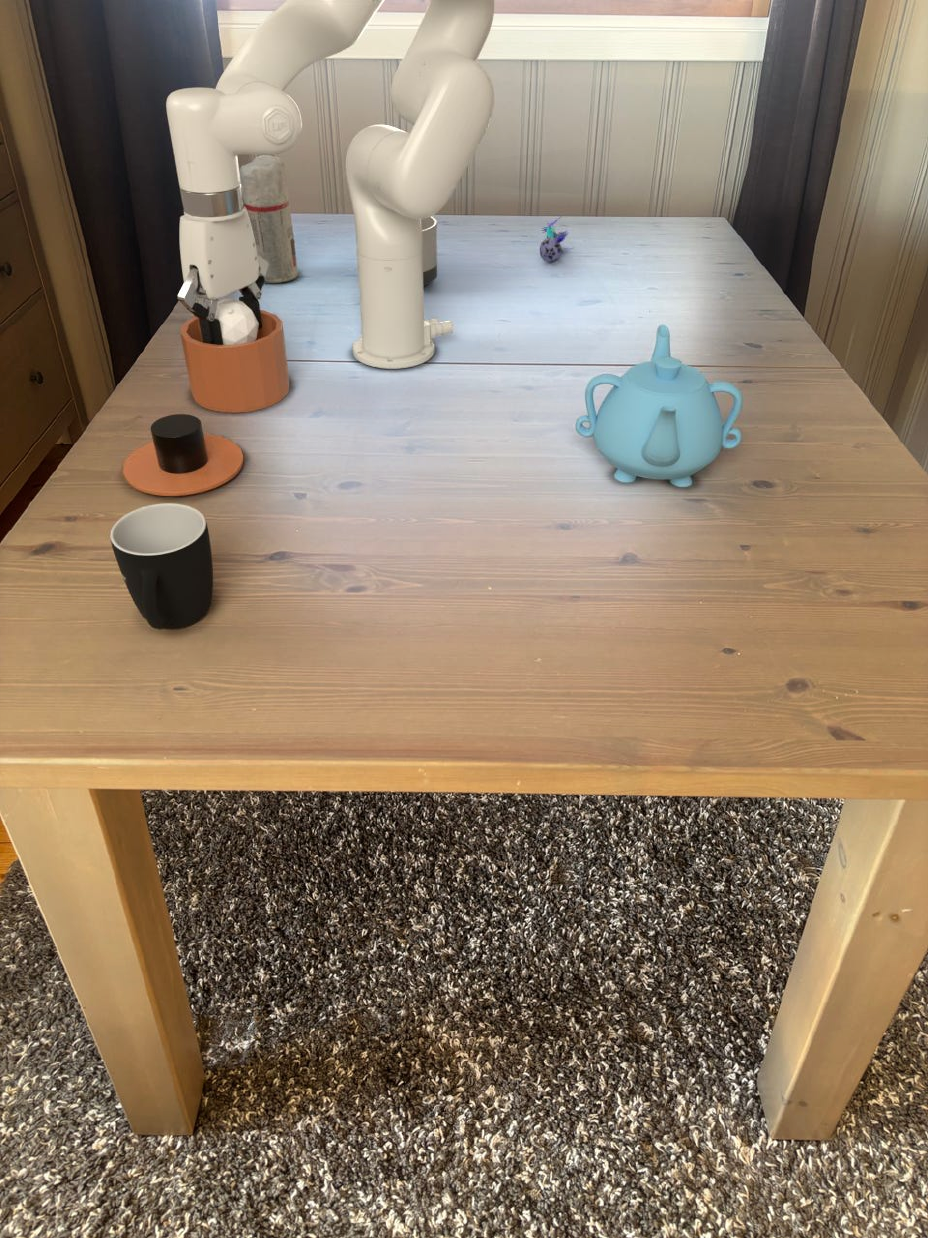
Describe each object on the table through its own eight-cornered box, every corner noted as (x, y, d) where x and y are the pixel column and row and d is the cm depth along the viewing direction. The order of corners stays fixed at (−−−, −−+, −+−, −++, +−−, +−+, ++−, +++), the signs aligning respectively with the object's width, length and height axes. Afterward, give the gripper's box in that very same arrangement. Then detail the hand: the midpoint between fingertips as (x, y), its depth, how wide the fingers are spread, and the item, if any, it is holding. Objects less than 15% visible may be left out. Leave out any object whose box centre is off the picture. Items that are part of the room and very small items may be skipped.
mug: (143, 584, 99) (122, 502, 93) (229, 583, 100) (213, 501, 93) (115, 660, 90) (89, 575, 84) (209, 658, 90) (190, 574, 84)
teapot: (650, 517, 110) (668, 408, 101) (553, 446, 123) (562, 344, 114) (751, 481, 117) (776, 375, 108) (649, 417, 130) (664, 318, 121)
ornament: (269, 341, 133) (269, 309, 126) (232, 373, 131) (229, 343, 124) (233, 308, 134) (230, 275, 126) (195, 340, 131) (190, 308, 124)
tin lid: (224, 431, 125) (217, 389, 122) (259, 482, 116) (253, 437, 112) (113, 456, 120) (101, 413, 116) (140, 512, 110) (128, 466, 106)
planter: (450, 279, 171) (450, 218, 164) (410, 300, 162) (408, 238, 156) (393, 265, 176) (391, 206, 169) (351, 286, 167) (347, 225, 161)
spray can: (290, 286, 167) (276, 165, 154) (246, 283, 168) (229, 162, 156) (305, 270, 173) (294, 152, 161) (263, 267, 175) (248, 149, 162)
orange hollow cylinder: (271, 363, 142) (263, 301, 136) (303, 400, 133) (296, 335, 127) (181, 381, 137) (169, 318, 131) (208, 420, 128) (196, 354, 122)
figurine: (536, 221, 184) (531, 243, 175) (563, 207, 181) (559, 228, 172) (551, 251, 187) (546, 274, 178) (578, 238, 185) (574, 260, 176)
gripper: (237, 180, 126) (255, 310, 137) (139, 212, 114) (167, 352, 126) (280, 189, 123) (295, 321, 134) (184, 223, 111) (209, 365, 123)
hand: (233, 335), depth 130 cm, fingers closed on ornament, 7 cm apart
